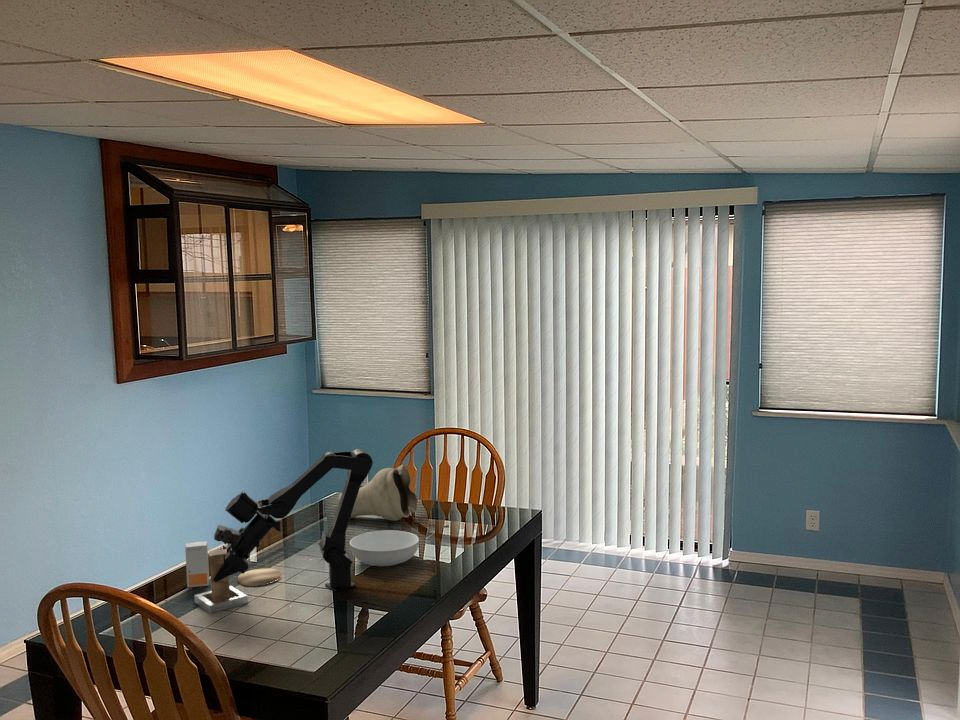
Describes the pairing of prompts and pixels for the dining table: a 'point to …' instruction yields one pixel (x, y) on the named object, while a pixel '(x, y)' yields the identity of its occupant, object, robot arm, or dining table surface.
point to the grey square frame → (211, 607)
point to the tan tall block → (216, 561)
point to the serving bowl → (384, 547)
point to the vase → (386, 495)
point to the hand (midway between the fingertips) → (214, 577)
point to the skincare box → (197, 564)
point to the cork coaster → (258, 577)
